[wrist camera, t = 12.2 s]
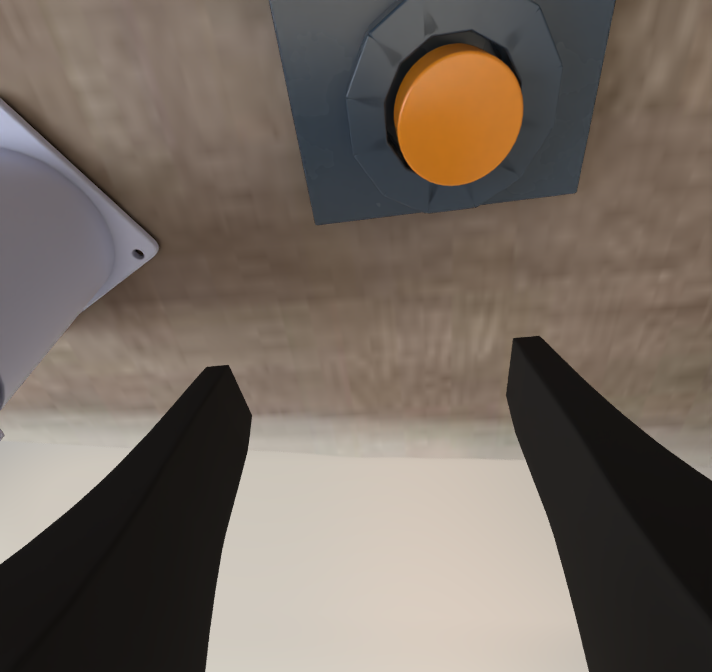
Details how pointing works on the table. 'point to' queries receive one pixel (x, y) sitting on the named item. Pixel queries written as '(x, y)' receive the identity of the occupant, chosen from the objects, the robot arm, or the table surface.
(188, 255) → the table surface
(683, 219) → the table surface
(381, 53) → the block
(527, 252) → the table surface
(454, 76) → the button
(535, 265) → the table surface
